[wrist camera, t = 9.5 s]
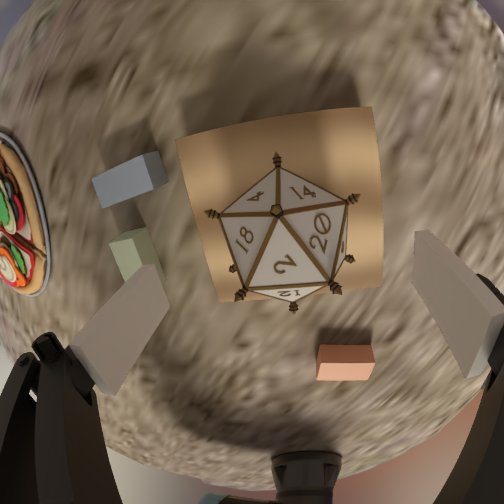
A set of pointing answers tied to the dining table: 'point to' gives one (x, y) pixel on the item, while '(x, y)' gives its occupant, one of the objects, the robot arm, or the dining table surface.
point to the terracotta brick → (344, 362)
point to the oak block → (301, 163)
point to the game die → (286, 236)
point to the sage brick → (135, 253)
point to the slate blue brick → (130, 179)
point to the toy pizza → (21, 224)
